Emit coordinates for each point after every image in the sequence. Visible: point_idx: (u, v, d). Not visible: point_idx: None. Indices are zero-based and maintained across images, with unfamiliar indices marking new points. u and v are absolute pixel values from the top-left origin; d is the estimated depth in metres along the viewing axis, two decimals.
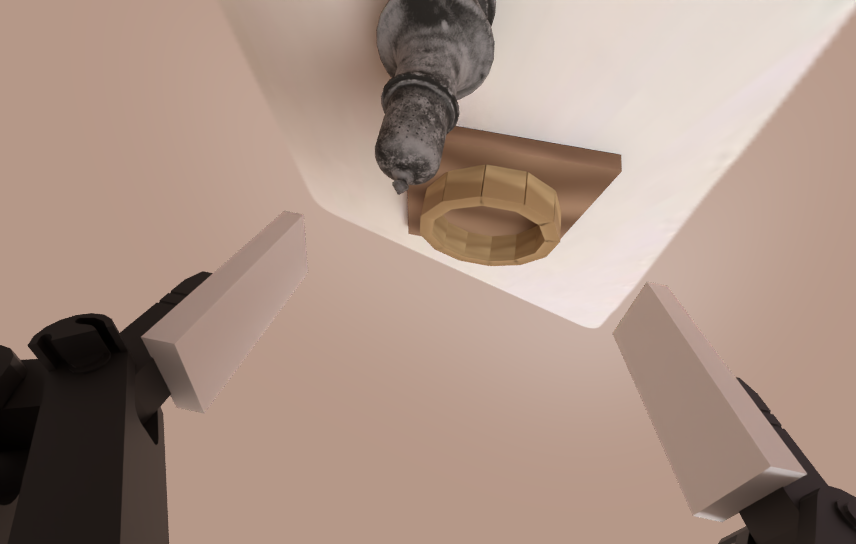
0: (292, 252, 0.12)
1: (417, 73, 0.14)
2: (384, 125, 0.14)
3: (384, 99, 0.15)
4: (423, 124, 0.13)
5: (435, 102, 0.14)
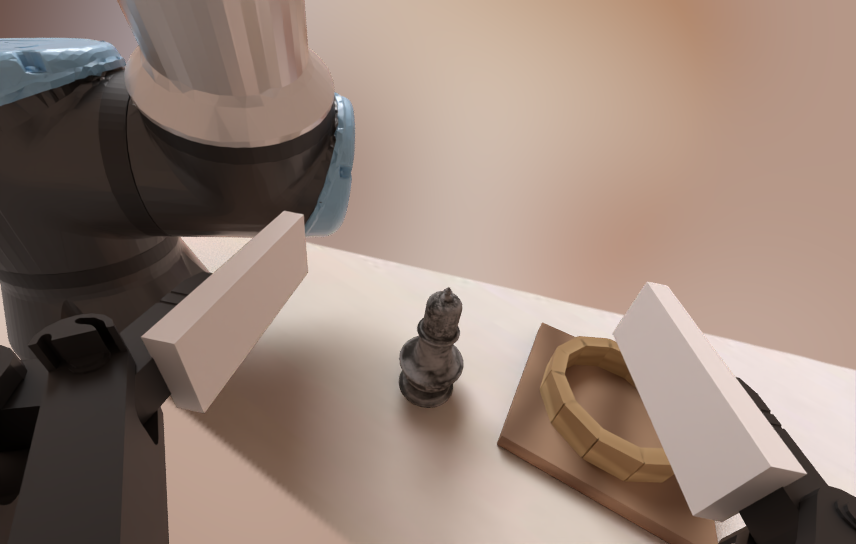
0: (292, 252, 0.12)
1: None
2: (426, 314, 0.27)
3: (426, 338, 0.27)
4: None
5: None
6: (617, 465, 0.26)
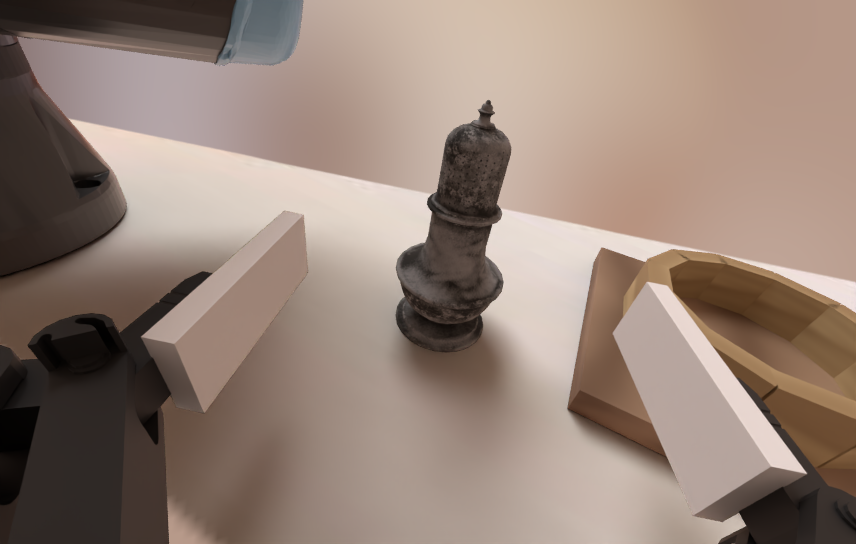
0: (292, 252, 0.12)
1: None
2: (445, 161, 0.14)
3: (444, 212, 0.15)
4: None
5: None
6: (810, 438, 0.14)
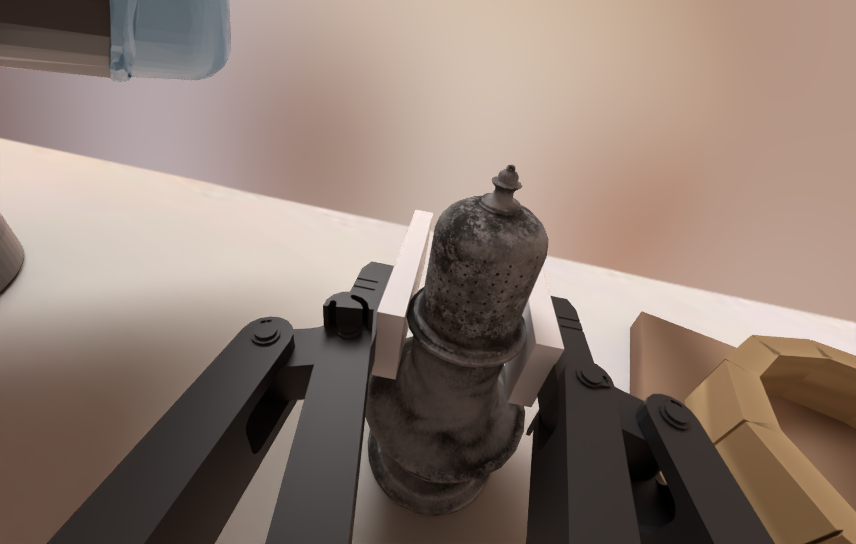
0: (426, 246, 0.14)
1: (413, 296, 0.11)
2: (435, 264, 0.08)
3: (434, 342, 0.09)
4: None
5: None
6: None
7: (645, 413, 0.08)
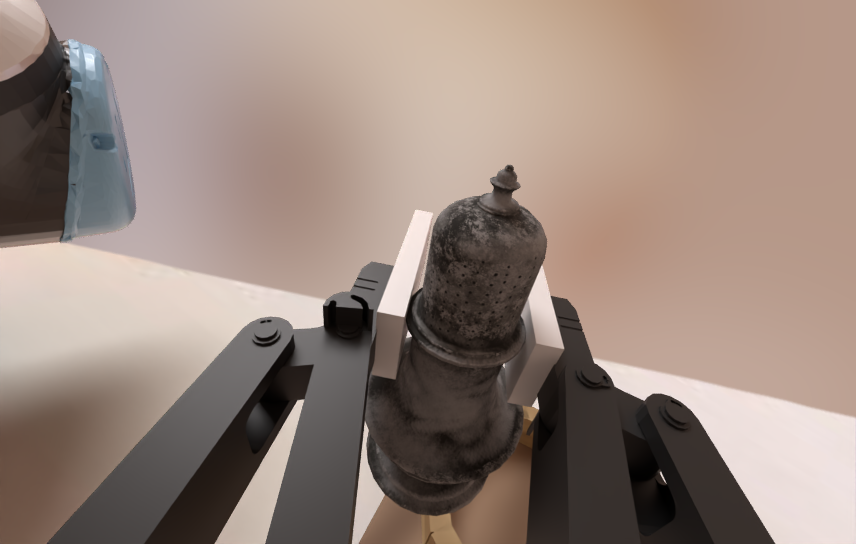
0: (426, 246, 0.14)
1: None
2: (433, 264, 0.08)
3: (432, 342, 0.09)
4: None
5: None
6: None
7: (645, 413, 0.08)
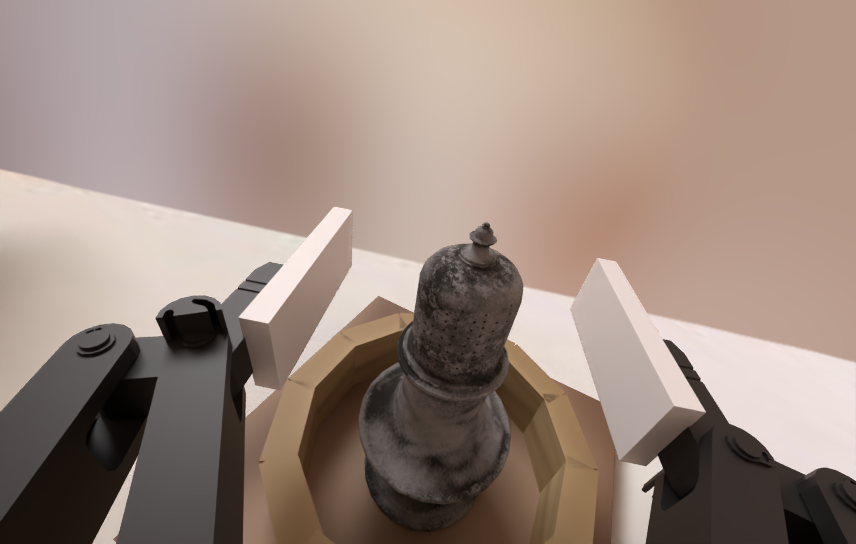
0: (343, 245, 0.13)
1: (403, 329, 0.11)
2: (419, 308, 0.09)
3: (421, 377, 0.10)
4: None
5: None
6: None
7: (812, 484, 0.07)
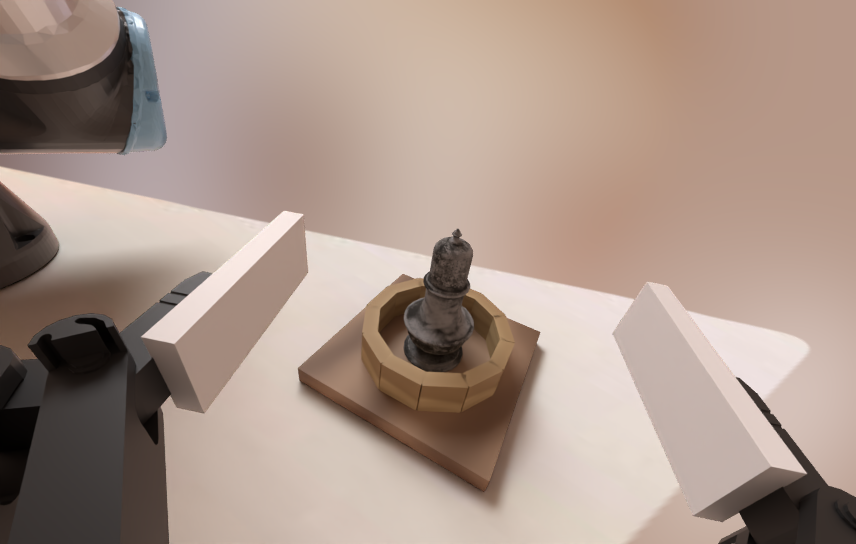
0: (292, 252, 0.12)
1: None
2: (433, 261, 0.24)
3: (433, 289, 0.25)
4: None
5: None
6: (405, 392, 0.24)
7: None
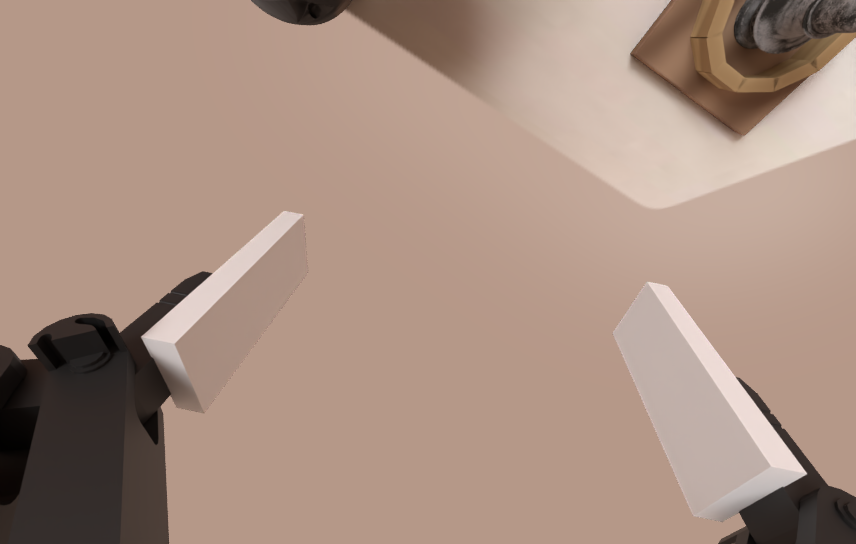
0: (292, 252, 0.12)
1: None
2: (831, 18, 0.25)
3: (808, 30, 0.27)
4: None
5: None
6: (718, 84, 0.34)
7: None
